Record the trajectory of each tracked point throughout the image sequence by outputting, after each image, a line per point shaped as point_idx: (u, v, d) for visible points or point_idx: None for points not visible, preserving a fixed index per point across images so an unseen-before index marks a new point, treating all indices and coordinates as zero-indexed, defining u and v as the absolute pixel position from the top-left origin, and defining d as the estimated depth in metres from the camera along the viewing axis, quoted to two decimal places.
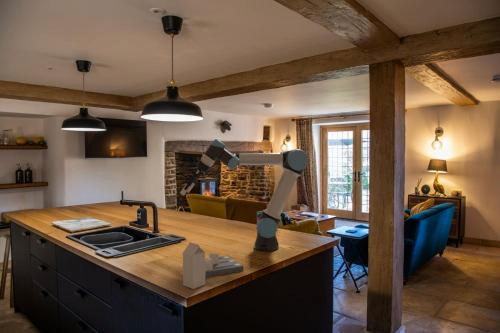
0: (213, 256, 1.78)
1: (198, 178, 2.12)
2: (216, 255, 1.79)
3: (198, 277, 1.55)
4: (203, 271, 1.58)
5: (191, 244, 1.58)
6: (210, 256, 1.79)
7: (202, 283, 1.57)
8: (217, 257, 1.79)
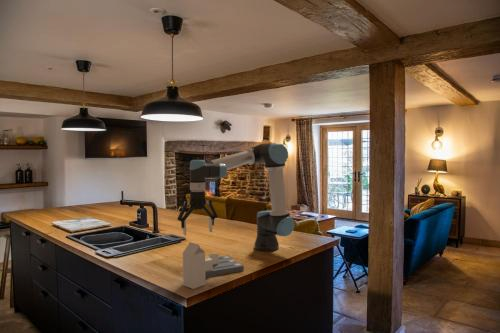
0: (213, 256, 1.78)
1: None
2: (216, 255, 1.79)
3: (198, 277, 1.55)
4: (203, 271, 1.58)
5: (191, 244, 1.58)
6: (210, 256, 1.79)
7: (202, 283, 1.57)
8: (217, 257, 1.79)
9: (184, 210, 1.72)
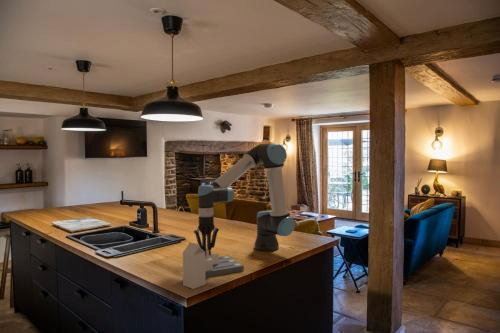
0: (213, 256, 1.78)
1: None
2: (216, 255, 1.79)
3: (198, 277, 1.55)
4: (203, 271, 1.58)
5: (191, 244, 1.58)
6: (210, 256, 1.79)
7: (202, 283, 1.57)
8: (217, 257, 1.79)
9: (199, 238, 1.75)
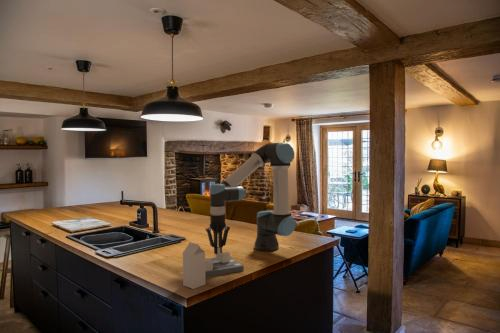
0: (224, 254, 1.81)
1: None
2: (227, 253, 1.82)
3: (198, 277, 1.55)
4: (203, 271, 1.58)
5: (191, 244, 1.58)
6: (221, 254, 1.82)
7: (202, 283, 1.57)
8: (228, 255, 1.82)
9: (211, 236, 1.78)
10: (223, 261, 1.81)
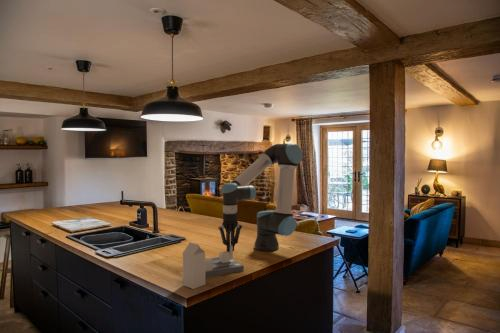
0: (223, 254, 1.81)
1: None
2: (227, 253, 1.82)
3: (198, 277, 1.55)
4: (203, 271, 1.58)
5: (191, 244, 1.58)
6: (221, 254, 1.82)
7: (202, 283, 1.57)
8: (228, 255, 1.82)
9: (224, 234, 1.81)
10: (223, 261, 1.81)
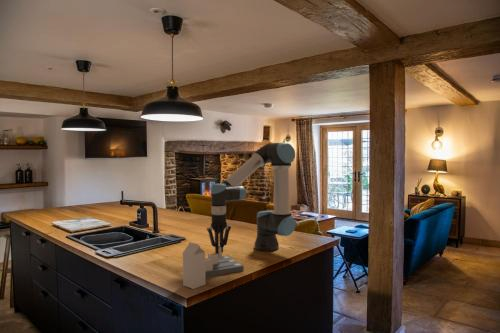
0: (212, 256, 1.78)
1: None
2: (215, 255, 1.79)
3: (198, 277, 1.55)
4: (203, 271, 1.58)
5: (191, 244, 1.58)
6: (209, 256, 1.79)
7: (202, 283, 1.57)
8: (216, 257, 1.79)
9: (212, 236, 1.78)
10: None
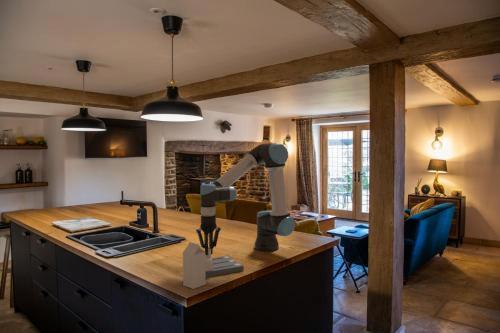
0: None
1: None
2: (205, 257, 1.76)
3: (198, 277, 1.55)
4: (203, 271, 1.58)
5: (191, 244, 1.58)
6: None
7: (202, 283, 1.57)
8: None
9: (201, 237, 1.76)
10: None
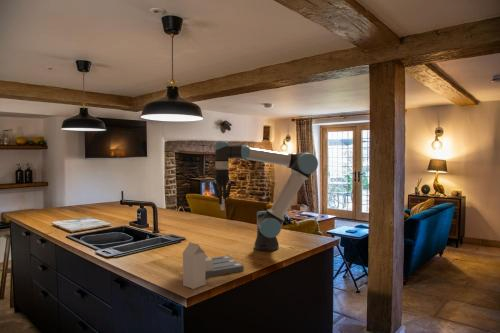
0: None
1: None
2: (205, 257, 1.76)
3: (198, 277, 1.55)
4: (203, 271, 1.58)
5: (191, 244, 1.58)
6: None
7: (202, 283, 1.57)
8: None
9: (216, 188, 1.99)
10: None
